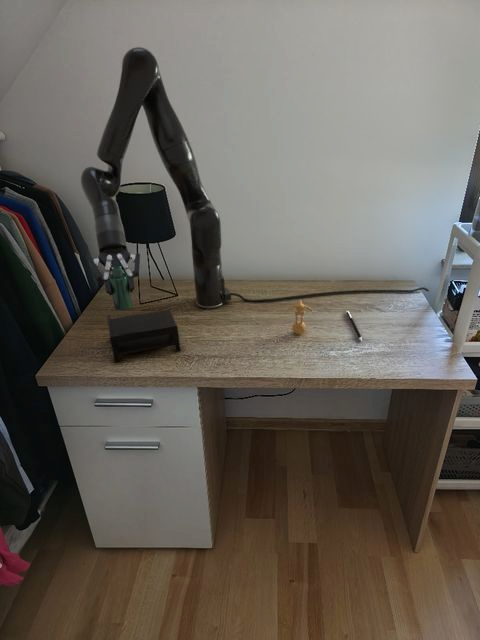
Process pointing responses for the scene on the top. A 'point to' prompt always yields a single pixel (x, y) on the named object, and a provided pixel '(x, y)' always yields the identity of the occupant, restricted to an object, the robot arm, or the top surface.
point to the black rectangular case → (143, 332)
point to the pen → (354, 326)
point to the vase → (120, 289)
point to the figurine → (298, 325)
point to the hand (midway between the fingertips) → (121, 292)
